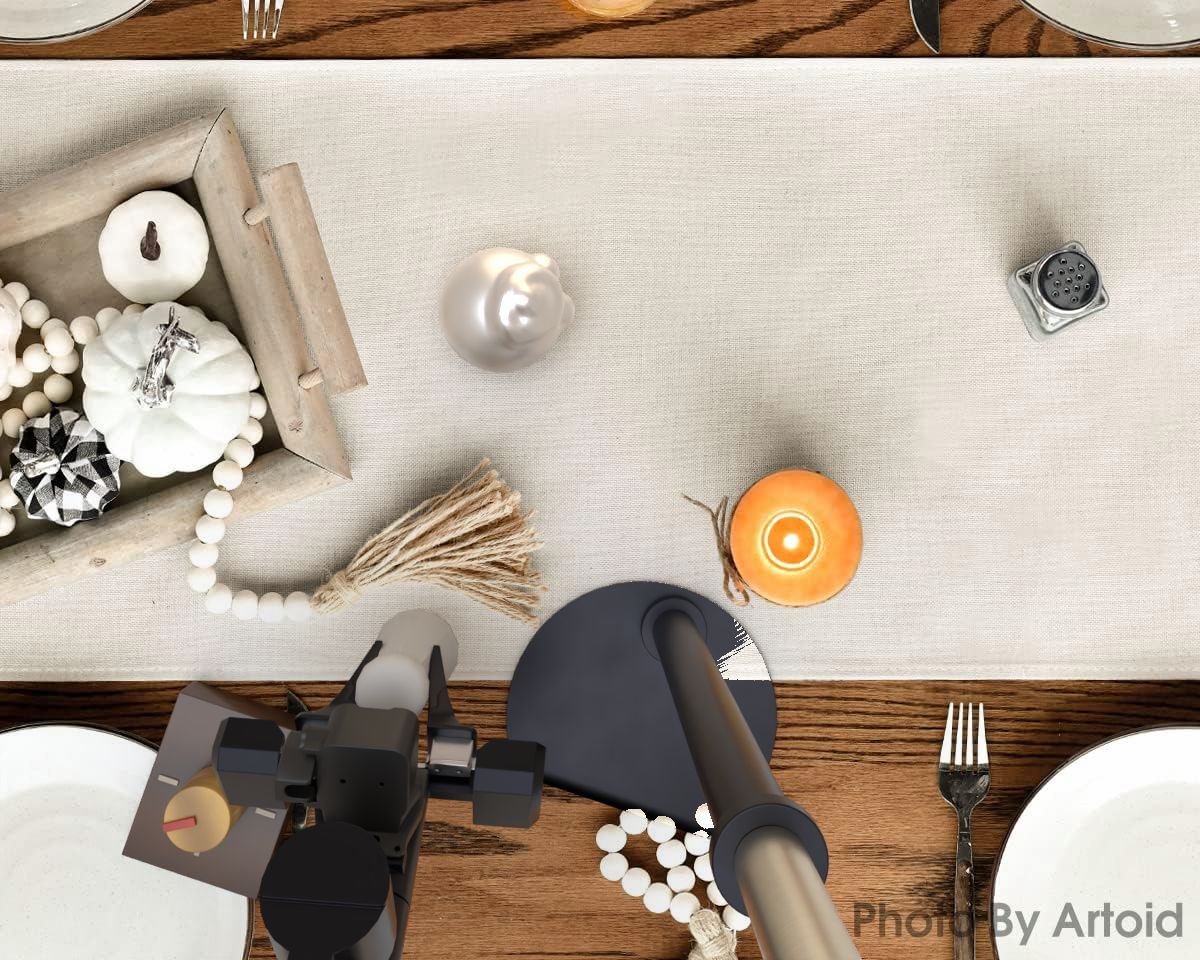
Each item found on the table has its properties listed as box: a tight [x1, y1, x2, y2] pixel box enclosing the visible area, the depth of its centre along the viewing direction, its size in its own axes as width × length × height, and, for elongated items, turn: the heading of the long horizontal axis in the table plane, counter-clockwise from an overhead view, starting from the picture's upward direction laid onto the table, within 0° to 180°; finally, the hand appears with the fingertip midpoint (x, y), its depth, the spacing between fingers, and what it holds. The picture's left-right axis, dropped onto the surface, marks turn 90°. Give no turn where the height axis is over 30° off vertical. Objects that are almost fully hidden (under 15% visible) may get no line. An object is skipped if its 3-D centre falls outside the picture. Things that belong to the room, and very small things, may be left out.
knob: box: [163, 766, 246, 853], centre depth 71 cm, size 4×4×4 cm
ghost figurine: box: [437, 246, 576, 374], centre depth 73 cm, size 9×10×10 cm
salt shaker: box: [355, 608, 459, 717], centre depth 67 cm, size 6×6×13 cm
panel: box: [121, 680, 298, 901], centre depth 75 cm, size 12×10×3 cm
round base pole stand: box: [505, 580, 863, 960], centre depth 52 cm, size 20×20×50 cm
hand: (408, 645), depth 67 cm, fingers closed on salt shaker, 3 cm apart
